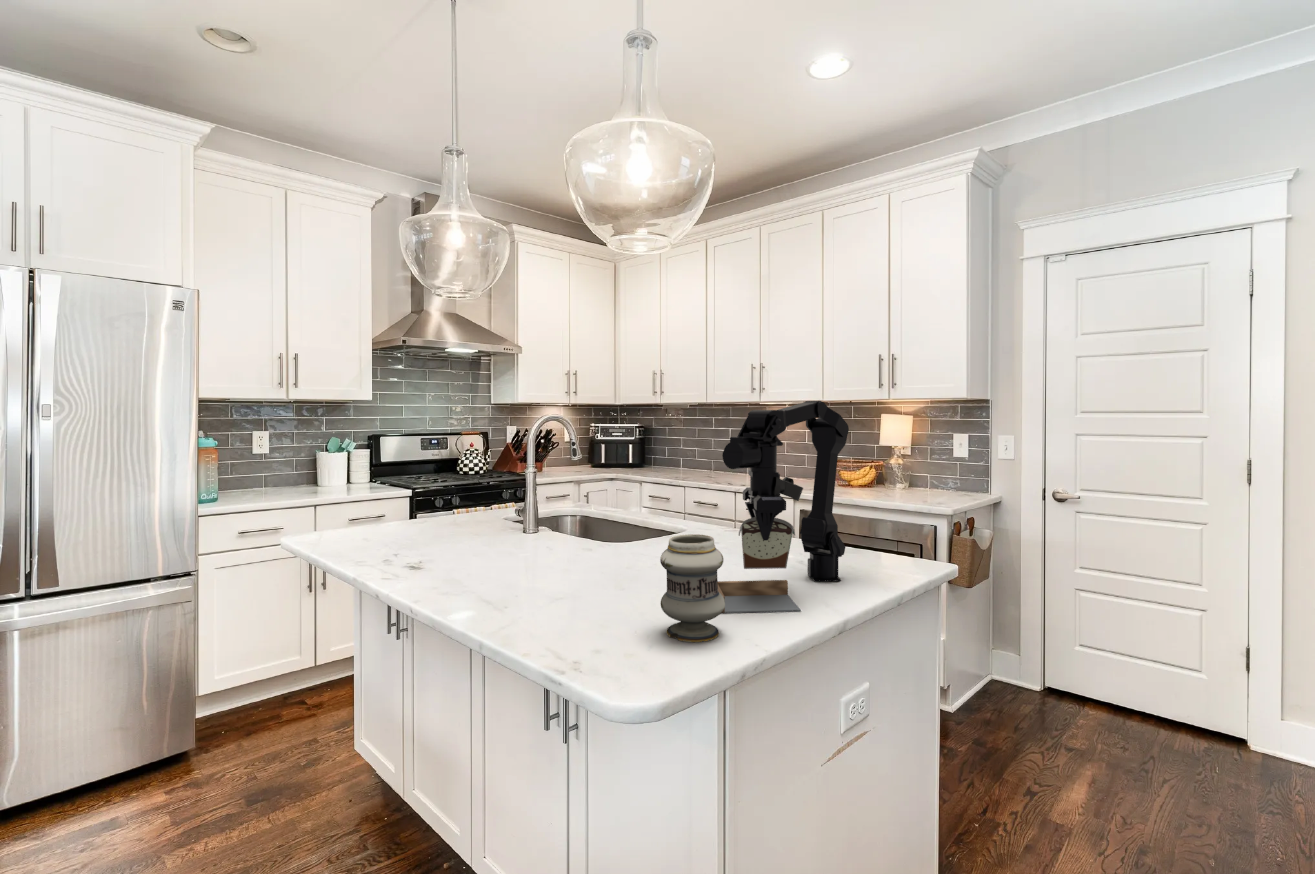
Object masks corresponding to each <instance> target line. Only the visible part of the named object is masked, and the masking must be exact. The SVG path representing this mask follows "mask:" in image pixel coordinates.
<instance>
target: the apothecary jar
mask: <svg viewBox="0 0 1315 874" xmlns="http://www.w3.org/2000/svg"><path fill="white" fill-rule="evenodd" d="M659 560H660V561H659V562H660V564H661V566H662V567H663V568H664V569H665V570H666V591H665V592H664V594H663V596H662V597H661V599H660V608H661V610H662V612H663V613H664V614H665V615H666V616H667V617H668V618H670V619H673V620H675V621H677V622H675V623H673V624H671V625H670V626H668V627H667V629H666V635H667V636H668V637H669V638H671V639H677V641H680V642H685V643H703V642H702V641H704V642H709V641H712V640H714V639H716V638H717V637H719V635H720V631H719V629H718V627H717V626H715V625H713V624H711V623H709V622H708V621H712V620H713V619H715V618H717V617H718V616H720V615H721V612H722V611H723V610H724V608H725V600H724V598H723V596H722V595H721V594H720V593H719V592H718V570H719V569H720V568H721V567H722V566H723V564H724V555H723V552H721V551H720V550H719V549H717V548H716V545H715V538H714V537H713V536H711V535H707V534H699V533H698V534H694V533H693V534H691V533H690V534H689V533H688V534H679V535H675V536H671V537H670V538H669V539H668V544H667V547H666V549H665V550H663V552H662V553H661V556H660V559H659ZM711 639H712V640H711ZM708 640H709V641H708Z"/></svg>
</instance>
